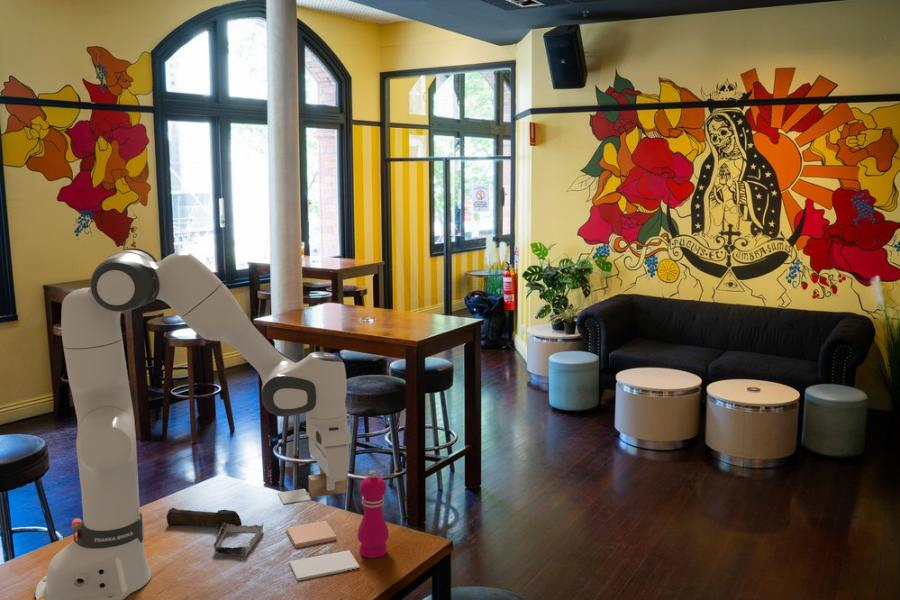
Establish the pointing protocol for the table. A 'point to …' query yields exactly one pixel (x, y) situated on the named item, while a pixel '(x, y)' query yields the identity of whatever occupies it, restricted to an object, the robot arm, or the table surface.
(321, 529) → the tile
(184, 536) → the table surface
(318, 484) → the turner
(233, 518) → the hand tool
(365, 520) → the pepper mill
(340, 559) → the pad
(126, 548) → the robot arm
